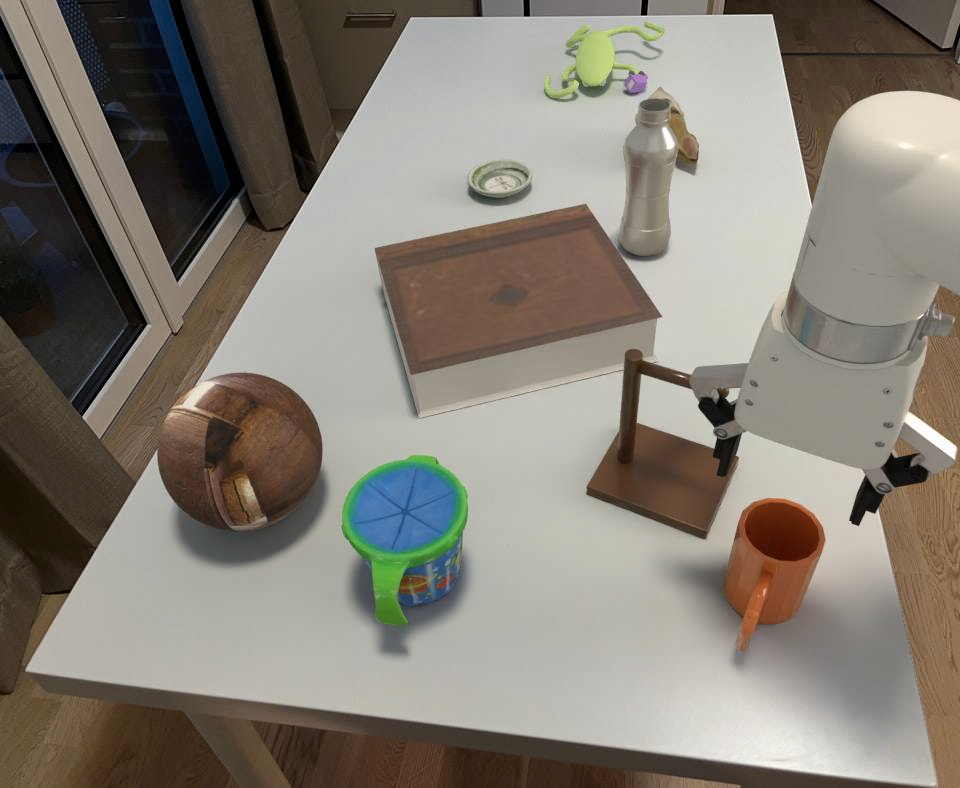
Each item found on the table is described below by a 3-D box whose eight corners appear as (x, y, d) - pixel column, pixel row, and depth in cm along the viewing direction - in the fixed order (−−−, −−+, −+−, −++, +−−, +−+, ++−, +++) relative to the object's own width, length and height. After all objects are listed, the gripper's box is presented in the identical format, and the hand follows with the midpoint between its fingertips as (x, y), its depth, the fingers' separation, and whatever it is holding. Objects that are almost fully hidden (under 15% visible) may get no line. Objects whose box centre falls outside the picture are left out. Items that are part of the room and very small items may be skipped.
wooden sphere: (223, 439, 87) (175, 336, 77) (353, 449, 85) (323, 343, 74) (163, 555, 77) (99, 454, 66) (310, 569, 74) (268, 467, 64)
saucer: (455, 190, 120) (454, 175, 119) (503, 166, 124) (502, 152, 123) (497, 214, 115) (496, 199, 113) (546, 188, 119) (545, 173, 117)
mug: (735, 548, 73) (752, 487, 66) (809, 576, 70) (833, 515, 64) (697, 646, 66) (711, 589, 60) (776, 681, 64) (799, 625, 57)
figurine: (667, 45, 152) (670, 14, 148) (643, 108, 135) (645, 75, 131) (573, 40, 157) (573, 11, 153) (538, 100, 140) (537, 69, 136)
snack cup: (396, 495, 80) (380, 427, 73) (497, 515, 77) (490, 447, 70) (333, 634, 70) (306, 571, 62) (447, 663, 67) (432, 600, 60)
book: (382, 289, 104) (374, 247, 100) (585, 245, 108) (586, 203, 103) (418, 418, 87) (410, 375, 83) (657, 361, 91) (662, 317, 86)
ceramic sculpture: (696, 75, 122) (706, 126, 112) (690, 126, 128) (699, 179, 119) (625, 78, 123) (629, 129, 113) (623, 129, 130) (626, 181, 120)
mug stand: (737, 464, 79) (764, 351, 69) (705, 539, 74) (729, 428, 63) (625, 426, 84) (633, 315, 73) (586, 493, 78) (589, 383, 68)
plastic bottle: (669, 263, 104) (685, 117, 89) (616, 262, 105) (624, 117, 91) (668, 235, 108) (684, 92, 94) (618, 234, 109) (626, 92, 95)
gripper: (1022, 312, 46) (923, 492, 58) (728, 241, 53) (694, 416, 65) (1009, 396, 42) (905, 571, 54) (690, 306, 48) (661, 481, 61)
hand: (790, 486), depth 59 cm, fingers open, 9 cm apart
